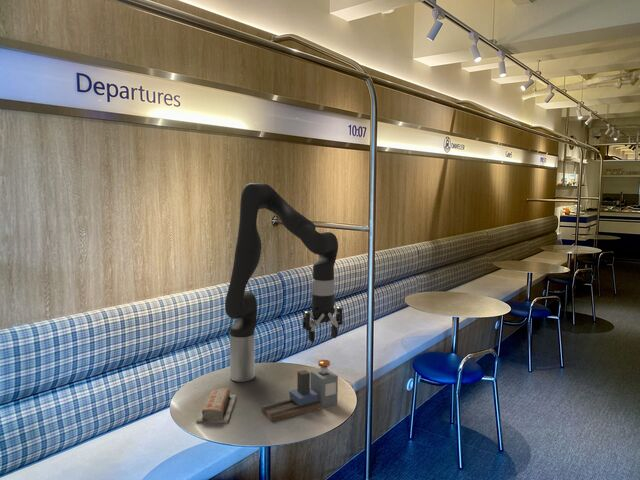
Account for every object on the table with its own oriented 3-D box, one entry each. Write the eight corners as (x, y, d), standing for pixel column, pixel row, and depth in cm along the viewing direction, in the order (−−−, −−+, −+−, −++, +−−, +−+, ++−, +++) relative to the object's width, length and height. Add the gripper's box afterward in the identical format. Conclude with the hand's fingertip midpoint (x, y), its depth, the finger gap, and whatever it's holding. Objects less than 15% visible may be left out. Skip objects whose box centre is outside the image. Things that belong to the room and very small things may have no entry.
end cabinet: (310, 398, 165) (310, 371, 164) (324, 395, 168) (325, 367, 167) (322, 408, 158) (323, 379, 157) (337, 404, 161) (338, 376, 160)
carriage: (289, 397, 160) (289, 370, 159) (307, 393, 163) (307, 366, 162) (299, 405, 154) (299, 378, 153) (317, 401, 157) (318, 373, 156)
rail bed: (261, 411, 155) (261, 404, 155) (309, 399, 165) (309, 392, 164) (271, 421, 149) (271, 414, 148) (320, 408, 158) (321, 401, 158)
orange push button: (315, 377, 163) (316, 360, 162) (325, 375, 165) (326, 358, 164) (321, 382, 159) (322, 364, 159) (332, 379, 161) (332, 362, 161)
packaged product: (228, 409, 147) (195, 410, 147) (228, 424, 147) (196, 425, 147) (236, 385, 165) (207, 385, 164) (236, 398, 165) (207, 398, 165)
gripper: (335, 288, 165) (335, 333, 167) (299, 292, 158) (299, 339, 159) (347, 292, 158) (346, 339, 160) (310, 297, 151) (309, 346, 153)
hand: (322, 339), depth 160 cm, fingers open, 8 cm apart
